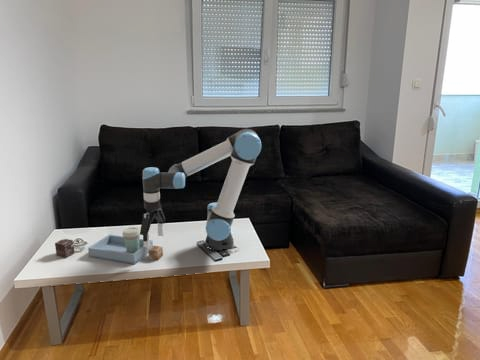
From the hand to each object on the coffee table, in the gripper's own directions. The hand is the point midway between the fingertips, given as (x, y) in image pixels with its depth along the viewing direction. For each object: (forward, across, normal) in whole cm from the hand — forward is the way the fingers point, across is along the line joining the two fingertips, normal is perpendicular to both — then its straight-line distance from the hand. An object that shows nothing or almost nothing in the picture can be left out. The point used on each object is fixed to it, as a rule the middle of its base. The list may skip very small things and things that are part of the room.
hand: (154, 241), depth 185 cm
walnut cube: (+9, 0, +1) cm, 9 cm away
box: (+10, +11, -44) cm, 47 cm away
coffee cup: (+8, 0, -12) cm, 15 cm away
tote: (+9, +1, -18) cm, 21 cm away
